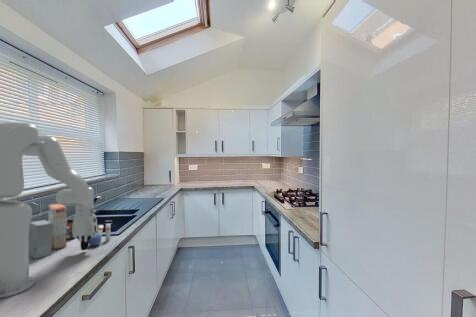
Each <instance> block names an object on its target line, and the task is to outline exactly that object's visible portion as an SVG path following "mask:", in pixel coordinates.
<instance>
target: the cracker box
mask: <svg viewBox="0 0 476 317" xmlns="http://www.w3.org/2000/svg"><path fill="white" fill-rule="evenodd" d="M67 211H68V207H66V205H61V204H59V203H54V204H48V221H49V222H51V223H53V228H52V242H51V249H53V250H57V249H61V248H66V247H67V239H66V226H67V222H68V218H67V216H68V215H67V214H68V212H67Z"/></svg>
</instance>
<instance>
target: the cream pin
mask: <svg viewBox="0 0 476 317" xmlns="http://www.w3.org/2000/svg"><path fill="white" fill-rule="evenodd" d="M97 228H98V231H97V233H96V234H98V235H100V236H101V239H102V237H103V231H104V224H98V225H97ZM101 242H102V240H101V241H100V243H101Z"/></svg>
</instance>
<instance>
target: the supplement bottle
mask: <svg viewBox="0 0 476 317" xmlns="http://www.w3.org/2000/svg"><path fill="white" fill-rule="evenodd" d="M73 219H74V217H70V218H67V226H66V241H67V240H75V239H76V238H74V237H73V234H72V225H73Z"/></svg>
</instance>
